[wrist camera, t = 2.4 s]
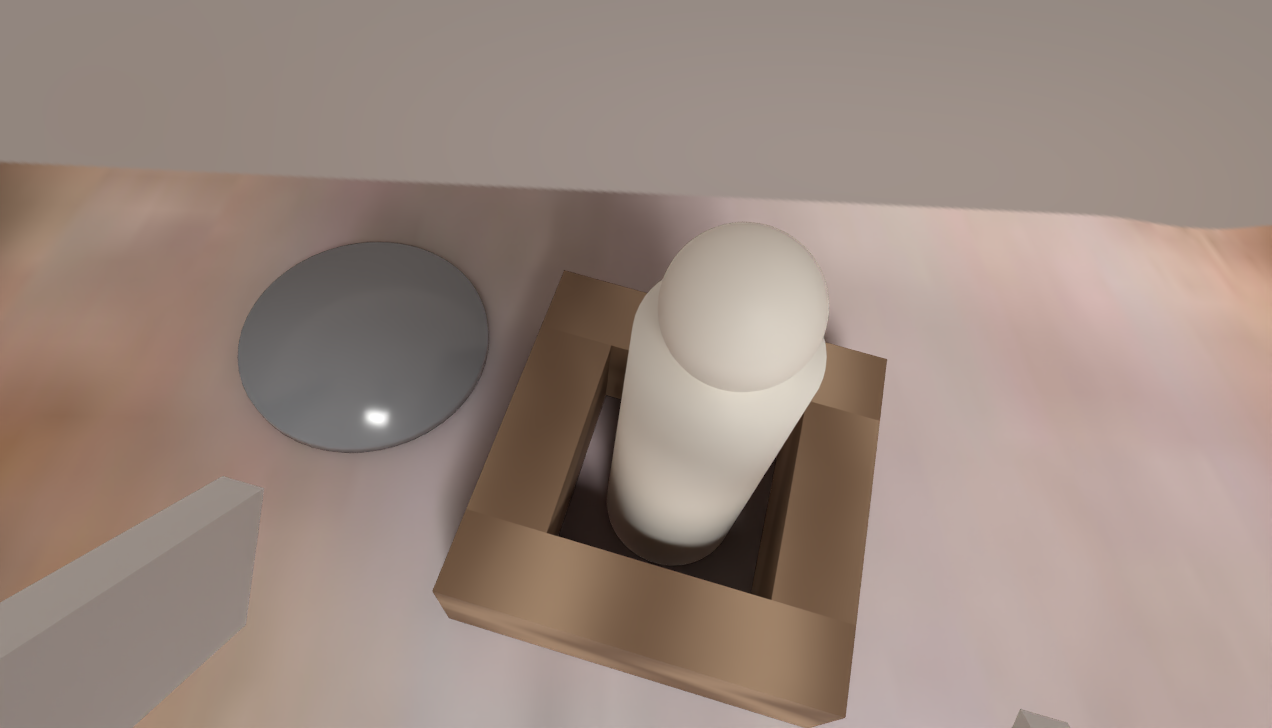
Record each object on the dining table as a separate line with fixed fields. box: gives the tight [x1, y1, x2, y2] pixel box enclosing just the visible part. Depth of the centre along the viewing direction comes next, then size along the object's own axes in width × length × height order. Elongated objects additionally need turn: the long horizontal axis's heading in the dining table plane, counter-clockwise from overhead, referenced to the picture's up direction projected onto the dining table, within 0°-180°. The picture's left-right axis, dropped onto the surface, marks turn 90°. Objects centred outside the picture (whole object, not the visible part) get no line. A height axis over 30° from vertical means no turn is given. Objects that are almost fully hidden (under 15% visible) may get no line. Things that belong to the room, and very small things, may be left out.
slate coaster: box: [238, 242, 489, 453], centre depth 31 cm, size 10×10×1 cm
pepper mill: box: [607, 222, 829, 566], centre depth 23 cm, size 5×5×16 cm
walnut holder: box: [433, 270, 887, 728], centre depth 28 cm, size 13×13×4 cm
